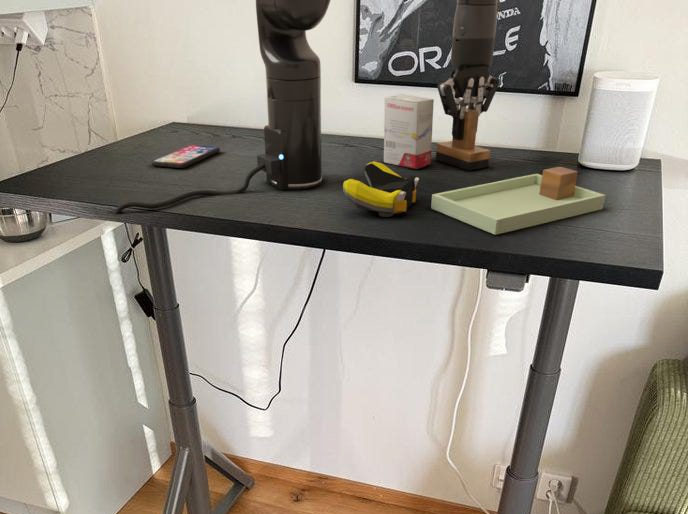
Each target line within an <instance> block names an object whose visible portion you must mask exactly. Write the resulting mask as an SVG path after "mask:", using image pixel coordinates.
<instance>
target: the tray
mask: <svg viewBox="0 0 688 514" xmlns="http://www.w3.org/2000/svg"><path fill="white" fill-rule="evenodd" d="M541 180H542V174H539V173H533V174H528V175H524V176H523V175H522V176H517V177H512V178H507V179H503V180H499V181H493V182H488V183H483V184H478V185H472V186H468V187H463V188H462V187H461V188H458V189H453V190H447V191H442V192H438V193H437V192H436V193H433V194H431V203H430V209H431V210H433V211H437V212H438V213H441V214H444V215H446V216H448V217H451V218H453V219H455V220H458V221H460V222H463V223H465V224H467V225H471V226H472V227H475V228H477V229H480V230H483V231H485V232H487V233H490V234H492V235H495V236H496V235H501V234H504V233H509V232H514V231H517V230H521V229H525V228H530V227H535V226H539V225H543V224H547V223H551V222H555V221H559V220H564V219H568V218H571V217H576V216H579V215H584V214H589V213H592V212H593V213H594V212H597V211H600V210H603V208H604V204H605V199H606V194H603V193H600V192H597V191H594V190H590V189H587V188H584V187H581V186H578V185H575V190H574V195H573V197H569V198H564V199H560V200H554V199H551V198H548V197H545V196H542V195H539V192H540V186H541Z"/></svg>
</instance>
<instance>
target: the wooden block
mask: <svg viewBox="0 0 688 514" xmlns="http://www.w3.org/2000/svg"><path fill="white" fill-rule="evenodd" d="M578 173H579V171H577V170H573V169H571V168H567V167H563V166H555V167H551V168H546V169H543V170H542V174H541V175H542V180H541V186H540V192H539V195H542V196H545V197H548V198H551V199H554V200H560V199H564V198H569V197H573V195H574V190H575V186H577V185H576V184H577V180H578V179H577V178H578Z"/></svg>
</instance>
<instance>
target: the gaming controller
mask: <svg viewBox="0 0 688 514" xmlns="http://www.w3.org/2000/svg"><path fill="white" fill-rule="evenodd" d="M364 175H365V178H366V180H367V182H368V184H369V185H367V184H365V183H364V182H362V181H360V180H356V179H353V178H349V179H347V180H344V182H343V184H342V192H343V194H344V195H345V196H346V198H347V199H348V201H349V202H351V204H353V205H354V206H355V207H356V208H357V209H361V210H365V211H372V212H377V213H378V215H379V217H383V218H391V217H393V216H395V214H401V213H403V212H407V210H408V208H409V207H410V206H411V205H412V204H413V203H416V201H417V189H416V188H417V185H418V183H419V180H420V178H419V177H416V175H412V176H409V177H406V178H405V177H402V176H401V175H399V174H398V173H396V172H394V171H393V170H392V169H390V168H389V167H388V166H386V165H385V163H381V162H378V161H370V162H369V163H367V164H365V167H364Z"/></svg>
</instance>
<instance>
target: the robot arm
mask: <svg viewBox="0 0 688 514" xmlns="http://www.w3.org/2000/svg"><path fill="white" fill-rule="evenodd" d="M330 3H331V0H255V12H256V24H257V35H258V42H259V43H258V45H259V52H260V55H261V59H262V61H263V64H264V68H265V76H266V77H265V81H266V82H265V83H266V103H267V122H268V123H267V125H266V124H265V125H264V127H263V135H264V153H259V154H256V164H257V166H256V167H254V168H253V169H252V170H250V172H248V174H247V175H246V177H245V180H244V183H243V185H242V186H241V187H239V188H236V189H235V190H230V191H222V190H221V191H220V190H210V189H199V190H192V191H189V192H184V193H182V194H179V195H177V196H174V197H172V198H169V199H166V200H162V201H159V202H150V203H149V202H142V201H141V202H140V201H126V202H123V203H121V204H120V205H118V206H117V207H116V208H115V210H114V211H113V213H112V214H113V215H119V214H121V213H122V211H124V210H125V209H127V208H142V209H159V208H164V207H167V206H170V205H174V204H175V203H178V202H180V201H183V200H185V199H189V198H193V197H197V196H224V195H225V196H227V195H237V194H242V193H243V192H245V191H246V190H248V187H249V185H250V182H251V179H252V178H253V177H254V176H255V175H256V174H258V173H260V172H261V171H262V172H263V173H266V176H265V177H266V183H268V184H269V185H271V186H273V187H276V188H277V189H280V190H282V191H286V190H307V189H310V188H311V189H313V188H316V187H318V186H320V185H322V183H323V175H322V172H323V168H322V89H321V88H322V75H321V74H322V73H321V72H322V71H321V70H322V69H321V68H322V67H321V59H320V57H319V55H317V54H316V52H315V51H314V50H313V49H312V47H311V46H310V44H309V42H308V39H307V31H311V30H313V29H315V28H316V27H317V26H318V25H319V24H320V23H321V22H322V21H323V20H324V18H325V16H326V14H327V12H328V9H329V7H330ZM498 3H499V0H456V8H455V11H454V12H455V13H454V18H453V29H452V41H451V52H450V63H451V65H452V68H451V71H450V74H449V78H448V79H447V80H446V81H444V82H443V83H442V82H439V83H438V84H437V91H438V95H439V98H440V102H441V105H442V109H443V112H444V114H445V115H446V116H450V117H452V127H451V136H452V138H454V139H456V140H462V139H463V133H464V123H465V119H463V118H464V117H465V112H466V108H468V109H472V110H476V111H478V118H479V117H480V116H481V114H482V113H486V112H488V110H489V108H490V106H491V104H492V101H493V99H494V96H495V94H496V92H497V90H498V87H499V85H500V83H501V80H500V78H497V77H493V76H492V75H491V71H490V65H492V63H493V60H494V59H493V58H494V50H495V43H496V40H495V39H496V32H497V25H498ZM459 108H460V109H459ZM478 124H479V120H478V121H477V126H478ZM477 132H478V129H477V130H476V133H477Z"/></svg>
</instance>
